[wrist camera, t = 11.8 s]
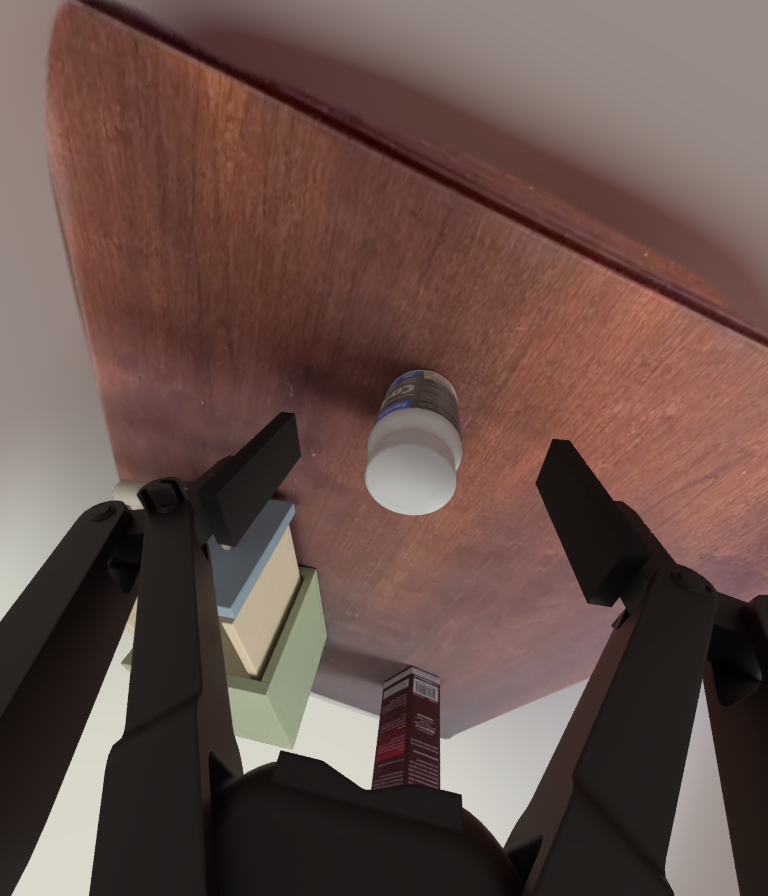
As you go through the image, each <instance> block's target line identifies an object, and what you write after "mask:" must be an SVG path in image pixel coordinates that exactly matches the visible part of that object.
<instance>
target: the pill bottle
mask: <svg viewBox="0 0 768 896" xmlns="http://www.w3.org/2000/svg"><path fill="white" fill-rule="evenodd" d="M367 450H368V457H369V458H368V462H367V465H366V469H365V483H366V487H367V489H368V491H369V493H370V494H371V495H372V497H373V498H374V499H375V500H376V501H377V502H378V503H379V504H380V505H382V506H383V507H385V508H387V509H389V510H391V511H394V512H397V513H401V514H406V515H422V514H427V513H431V512H434V511H436V510H438V509H440V508H441V507H443V506H444V505H445V504H446V503H447V502H448V501H449V500H450V499H451V497H452V496H453V493H454V491H455V487H456V470H457V469H458V467H459V465H460V462H461V458H462V452H463V451H462V439H461V428H460V419H459V409H458V400H457V396H456V392H455V390H454V388H453V386H452V385H451V384H450V382H449V381H448V380H447V379H445V378H444V377H443V376H441V375H440V374H438V373H436V372H433V371H429V370H414V371H410V372H407V373H405V374H403V375H401V376H400V377H398V378H397V379H396V380H395V381H394V382H393V383H392V385H391V386H390V387H389V389H388V391H387V393H386V396H385V399H384V401H383V403H382V405H381V408H380V410H379V413H378V415H377V418H376V420H375V422H374V425H373V427H372V430H371V432H370V435H369V439H368V446H367Z"/></svg>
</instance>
